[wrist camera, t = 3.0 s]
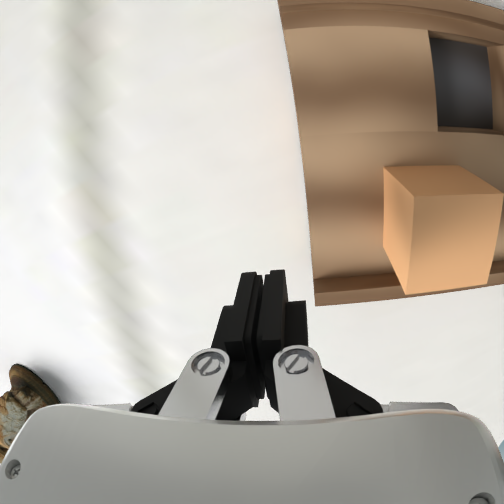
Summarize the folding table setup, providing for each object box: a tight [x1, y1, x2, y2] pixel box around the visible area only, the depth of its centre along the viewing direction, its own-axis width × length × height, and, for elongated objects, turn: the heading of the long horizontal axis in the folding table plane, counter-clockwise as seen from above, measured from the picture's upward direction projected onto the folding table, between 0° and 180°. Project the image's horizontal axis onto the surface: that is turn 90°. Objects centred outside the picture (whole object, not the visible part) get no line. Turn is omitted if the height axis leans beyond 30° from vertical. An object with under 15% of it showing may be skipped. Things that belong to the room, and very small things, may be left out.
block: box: [383, 165, 504, 295], centre depth 15 cm, size 5×5×5 cm
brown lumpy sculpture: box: [0, 364, 61, 463], centre depth 36 cm, size 18×12×17 cm, turn 162°
